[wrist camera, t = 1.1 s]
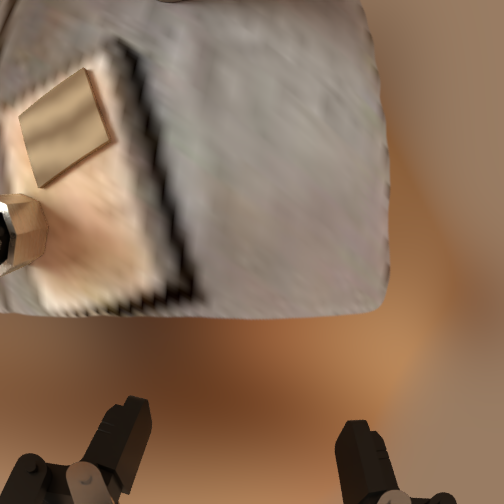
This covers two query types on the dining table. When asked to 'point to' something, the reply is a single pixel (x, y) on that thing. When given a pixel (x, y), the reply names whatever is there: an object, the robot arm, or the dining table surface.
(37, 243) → the wooden sleeve
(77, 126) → the oak board
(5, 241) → the wine bottle
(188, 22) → the dining table surface
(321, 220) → the dining table surface
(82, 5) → the dining table surface
